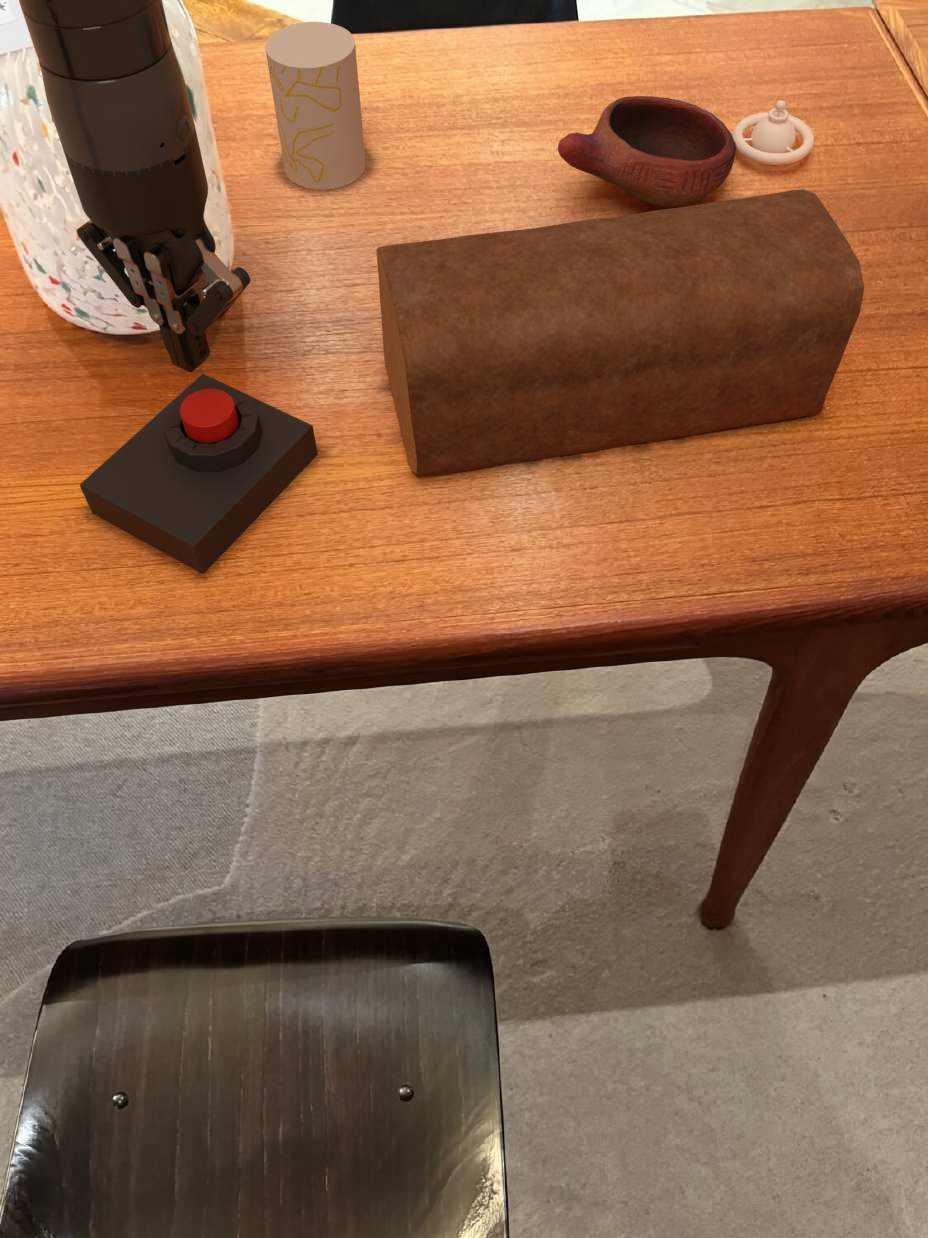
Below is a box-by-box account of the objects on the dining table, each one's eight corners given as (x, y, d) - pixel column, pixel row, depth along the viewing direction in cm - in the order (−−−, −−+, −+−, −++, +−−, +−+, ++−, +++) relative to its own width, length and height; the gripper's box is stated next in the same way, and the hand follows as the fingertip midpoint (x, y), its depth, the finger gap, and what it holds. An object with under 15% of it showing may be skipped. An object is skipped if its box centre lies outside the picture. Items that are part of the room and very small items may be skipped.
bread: (826, 420, 86) (882, 273, 74) (412, 487, 82) (402, 343, 70) (764, 309, 93) (806, 160, 82) (383, 364, 90) (369, 217, 78)
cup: (270, 178, 105) (249, 57, 95) (307, 135, 109) (291, 15, 99) (344, 196, 103) (330, 74, 93) (379, 152, 107) (369, 31, 97)
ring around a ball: (712, 149, 107) (766, 188, 104) (722, 95, 103) (778, 134, 99) (772, 122, 110) (826, 159, 106) (784, 68, 105) (841, 105, 101)
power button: (215, 451, 78) (210, 434, 76) (173, 430, 79) (168, 413, 78) (249, 418, 80) (245, 400, 78) (208, 398, 81) (203, 381, 79)
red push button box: (202, 574, 77) (187, 530, 73) (91, 512, 81) (71, 468, 76) (318, 454, 84) (310, 408, 80) (210, 402, 87) (197, 355, 83)
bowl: (640, 138, 108) (651, 60, 102) (749, 185, 104) (767, 106, 97) (545, 212, 102) (549, 133, 95) (656, 266, 97) (669, 187, 90)
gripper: (-6, 124, 60) (84, 358, 75) (171, 197, 56) (230, 431, 71) (87, 65, 64) (156, 300, 78) (259, 130, 60) (299, 365, 74)
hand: (191, 361), depth 74 cm, fingers closed
